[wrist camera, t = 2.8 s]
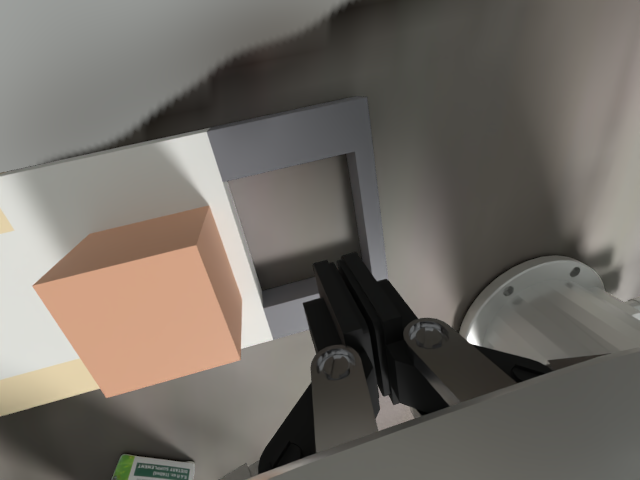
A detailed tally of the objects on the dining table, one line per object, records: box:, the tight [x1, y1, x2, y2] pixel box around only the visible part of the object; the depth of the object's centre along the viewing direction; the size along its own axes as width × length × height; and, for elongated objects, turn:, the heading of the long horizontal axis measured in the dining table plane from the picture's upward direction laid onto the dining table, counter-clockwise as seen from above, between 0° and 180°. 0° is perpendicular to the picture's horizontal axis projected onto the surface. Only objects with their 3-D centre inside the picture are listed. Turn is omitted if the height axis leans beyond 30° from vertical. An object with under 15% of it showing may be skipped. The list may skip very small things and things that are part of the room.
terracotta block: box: [32, 206, 242, 398], centre depth 16 cm, size 6×6×5 cm
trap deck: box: [0, 96, 388, 416], centre depth 19 cm, size 36×13×2 cm, turn 101°
